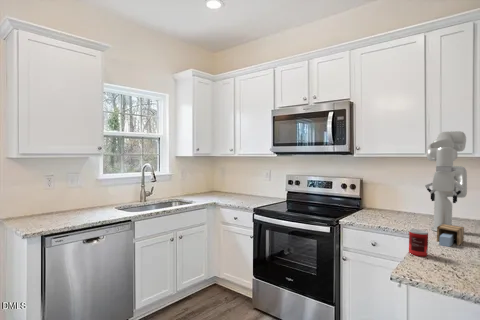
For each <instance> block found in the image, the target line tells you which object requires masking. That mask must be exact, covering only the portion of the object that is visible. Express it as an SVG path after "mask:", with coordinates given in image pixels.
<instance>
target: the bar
mask: <svg viewBox="0 0 480 320" xmlns="http://www.w3.org/2000/svg"><path fill="white" fill-rule="evenodd" d="M438 243H439V246H442V247H447V248H450V247H451V246H452V245H454V243H455V240H454V234H450V233H443V234H442V235H440V236H439V242H438Z"/></svg>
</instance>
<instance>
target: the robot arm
mask: <svg viewBox="0 0 480 320" xmlns="http://www.w3.org/2000/svg"><path fill="white" fill-rule="evenodd" d="M466 143H467V136H466V133H464V131H460V130H457V131H452V130H451V131H441V132H440V133H439V134H437V137H436V139H435V140H433V141H432V143H430V144H429V145H428V147H427V149H426V159H427V160H428V161H430V162H435V171H434V173H433V177H432V182H430V183H428V184H425V188H426V191H428V192H429V194H430V200H431V202H434V203H433V205H434V208H433V209H434V211H433V226H431V227H430V230H431V231H433V232H437V227H438V226H440V225H442V224H446V225H453V204H456V203H458V198H459V199H460V198H461V199H463V198H466V197H467V193H468V171H467V169H466V167H465V166H462V165H461V166H460V165H458V166H457V165H454V161H456V160H457V159H458V155H459V154H458V152H459V153H460V152H463V151H465V148H466ZM430 187H432V189H431V188H430ZM449 198H452V201H451V200H450V199H449Z"/></svg>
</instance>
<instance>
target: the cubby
mask: <svg viewBox="0 0 480 320" xmlns="http://www.w3.org/2000/svg"><path fill="white" fill-rule="evenodd" d="M443 233H450V234H454V241H456V246H460V245H461V244H463V243H464V238H465V237H464V235H465V227H464V226H460V225H459V226H458V225H453V224H452V225H446V224H442V225H440V226H438V227H437V231H436V242H438V243H439V236H440V235H442V234H443Z"/></svg>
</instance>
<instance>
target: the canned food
mask: <svg viewBox="0 0 480 320" xmlns="http://www.w3.org/2000/svg"><path fill="white" fill-rule="evenodd" d="M408 231H409V232H408V253H409V254H410V253H411V254H413V255H412V256H414V255H415V256H416V257H419V256H420V257H421V258H424V257H425V258H426V257H427V256H428V254H429V253H428V250H429V248H428V247H429V232H428V231H426V230H423V229H416V228H415V229H414V228H411V229H409V230H408ZM411 254H410V255H411ZM415 256H414V257H415ZM420 257H419V258H420Z"/></svg>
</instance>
